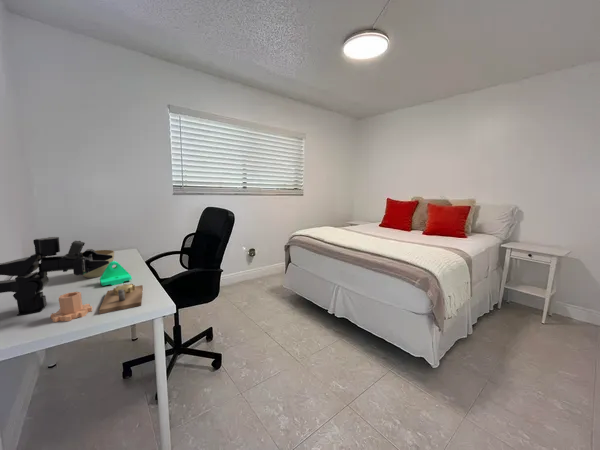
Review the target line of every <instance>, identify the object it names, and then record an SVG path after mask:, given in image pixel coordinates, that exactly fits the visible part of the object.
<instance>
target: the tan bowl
mask: <svg viewBox="0 0 600 450" xmlns="http://www.w3.org/2000/svg"><path fill="white" fill-rule="evenodd" d="M94 250H95V249H94ZM95 252H97V253H99V254H106V255H112V258H111V259H108V260H105V261H109V263H110V262H112V261H114V260H115V259H114V257H115V251H114V250H112V249H111V250H110V249H97V250H95ZM82 256H83V255H82ZM107 266H108V264H107V265H104V266H102V267H100V268H97V269H95V270H93V271H91V272H88V273H86V274H84V275H82V276H83V277H84V278H87V279H93V278H98V277H101V276H102V274H103V273H104V271H105V269H106V268H107ZM83 271H84V272H85V270H83Z"/></svg>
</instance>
